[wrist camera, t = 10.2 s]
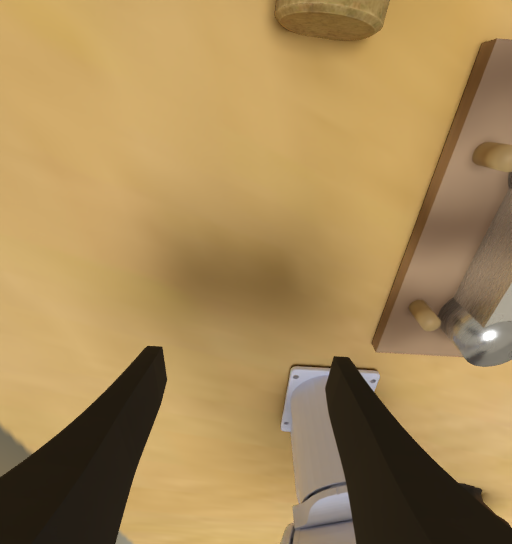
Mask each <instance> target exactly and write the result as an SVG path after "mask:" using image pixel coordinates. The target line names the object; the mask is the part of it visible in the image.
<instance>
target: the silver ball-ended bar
mask: <svg viewBox="0 0 512 544" xmlns="http://www.w3.org/2000/svg"><path fill="white" fill-rule="evenodd" d="M508 186H509V189H508V191H507V193H506V195H505V197H504V199H503V201H502V203H501V205H500V207H499V209H498V211H497V213H496V215H495V217H494V219H493V221H492V223H491V225H490V227H489V229H488V230H487V232H486V234H485V236H484V238H483V240H482V242H481V244H480V246H479V248H478V250H477V252H476V254H475V256H474V258H473V260H472V262H471V264H470V266H469V268H468V270H467V272H466V274H465V276H464V278H463V279H462V281H461V283H460V285H459V287H458V289H457V291H456V293H455V295H454V297H453V298H452V299H451V300H449V301H448V302H447V303H446V304H445V305H444V306H443V307H442V308H441V310H440V311H439V313H438V316H437V317H438V318H439V319H440V320H441V325H440V326H439V327H440V328H441V330H442V331H443V332H444V333H445V335H446V336H447V337H448V338H449V339H450V341H451V342H452V343H453V344H454V346H455V347H456V348H457V349H458V350H459V352H460V353H461V354H462V355H463V357H464V358H465V359H466V360H467V361H468V362H469V363H471V364H473V365H476V366H482V367H488V366H495V365H499V364H503V363H505V362H508V361H510V360H512V172H509V175H508Z"/></svg>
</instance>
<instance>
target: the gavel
mask: <svg viewBox="0 0 512 544" xmlns="http://www.w3.org/2000/svg"><path fill="white" fill-rule="evenodd" d="M389 1H390V0H276V7H275V18H276V19H277V20H278V22H279V23H280V24H281V25H282V26H283V27H284V28H286V29H288V30H290V31H292V32H295V33H298V34H301V35H306V36H312V37H319V38H325V39H331V40H358V39H364V38H367V37H370V36H372V35H373V34H375V33H377V32H378V31H380V30H381V29H382V27H383V24H384V20H385V16H386V12H387V9H388V5H389Z"/></svg>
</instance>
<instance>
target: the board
mask: <svg viewBox="0 0 512 544" xmlns="http://www.w3.org/2000/svg"><path fill="white" fill-rule="evenodd" d="M509 172H512V40H509V39H494V40H491V41H487V42H484V43H482V45H481V48H480V50H479V53H478V56H477V59H476V61H475V64H474V67H473V69H472V72H471V75H470V78H469V80H468V83H467V86H466V88H465V91H464V94H463V97H462V99H461V102H460V105H459V108H458V110H457V113H456V116H455V118H454V121H453V124H452V127H451V129H450V132H449V135H448V137H447V140H446V143H445V146H444V148H443V151H442V154H441V156H440V159H439V162H438V165H437V167H436V170H435V173H434V176H433V178H432V181H431V184H430V186H429V189H428V192H427V195H426V197H425V200H424V203H423V205H422V208H421V211H420V214H419V216H418V219H417V222H416V224H415V227H414V230H413V233H412V235H411V238H410V241H409V244H408V246H407V249H406V252H405V254H404V257H403V260H402V263H401V265H400V268H399V271H398V273H397V276H396V279H395V282H394V284H393V287H392V290H391V293H390V295H389V298H388V301H387V303H386V306H385V309H384V312H383V314H382V317H381V320H380V322H379V325H378V328H377V331H376V333H375V336H374V339H373V341H372V345H373V347H374V349H375V351H376V352H381V353H399V354H417V355H434V356H452V357H463V355H462V354H461V353H460V352H459V350H458V349H457V348H456V347H455V346H454V344H453V343H452V342H451V341H450V339H449V338H448V337H447V336H446V335H445V333H444V332H443V331H442V330H441V328H440V327H439V326H440V325H441V320H440V319H439V318H438V317H437V316H438V313H439V311H440V310H441V308H442V307H443V306H444V305H445V304H446V303H447V302H448V301H449V300H451V299H452V298H453V297H454V295H455V293H456V291H457V289H458V287H459V285H460V283H461V281H462V279H463V278H464V276H465V274H466V272H467V270H468V268H469V266H470V264H471V262H472V260H473V258H474V256H475V254H476V252H477V250H478V248H479V246H480V244H481V242H482V240H483V238H484V236H485V234H486V232H487V230H488V229H489V227H490V225H491V223H492V221H493V219H494V217H495V215H496V213H497V211H498V209H499V207H500V205H501V203H502V201H503V199H504V197H505V195H506V193H507V191H508V189H509V186H508V175H509Z"/></svg>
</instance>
